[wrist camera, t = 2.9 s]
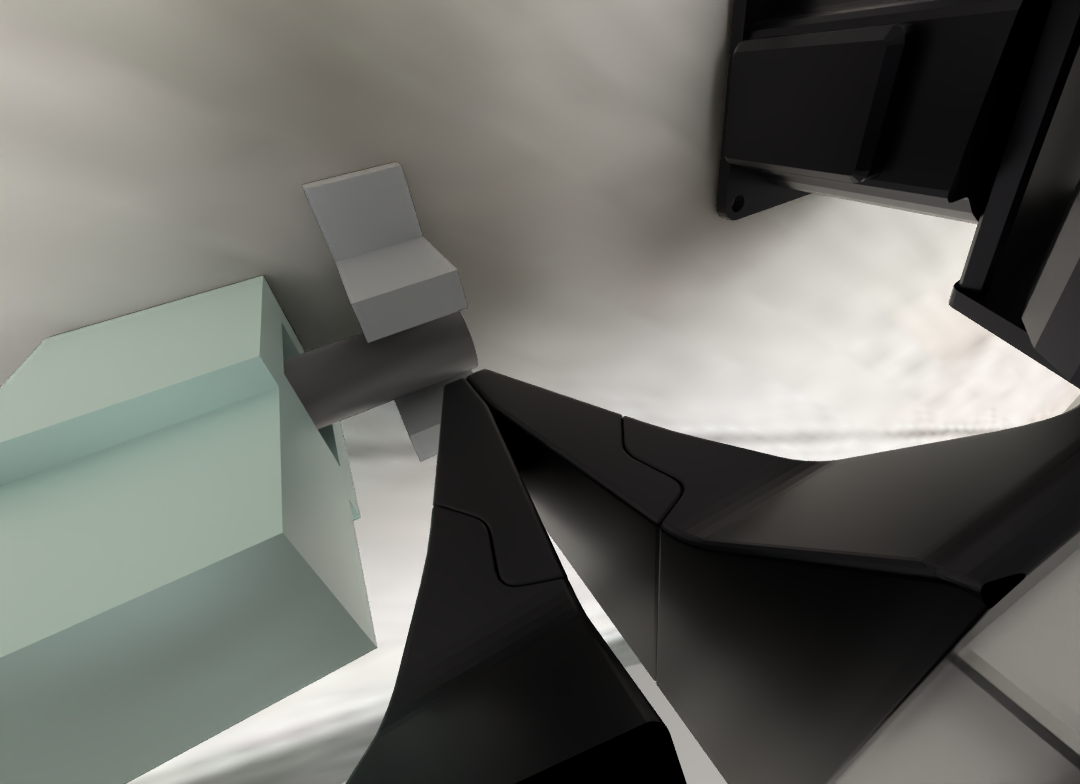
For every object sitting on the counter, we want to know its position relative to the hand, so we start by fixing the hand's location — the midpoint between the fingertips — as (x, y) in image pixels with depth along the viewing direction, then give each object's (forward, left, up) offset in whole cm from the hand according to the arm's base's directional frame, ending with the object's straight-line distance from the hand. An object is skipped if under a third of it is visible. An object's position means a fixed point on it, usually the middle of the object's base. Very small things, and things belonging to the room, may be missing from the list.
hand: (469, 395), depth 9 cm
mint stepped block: (+5, 0, -4) cm, 6 cm away
